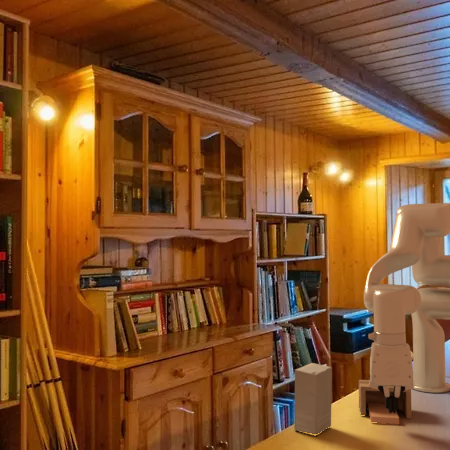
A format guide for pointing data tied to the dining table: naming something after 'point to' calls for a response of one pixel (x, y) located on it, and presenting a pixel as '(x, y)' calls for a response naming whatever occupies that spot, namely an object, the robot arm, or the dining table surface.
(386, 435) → the dining table surface
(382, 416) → the terracotta tile
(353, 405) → the dining table surface
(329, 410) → the skincare box
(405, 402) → the tan open box
